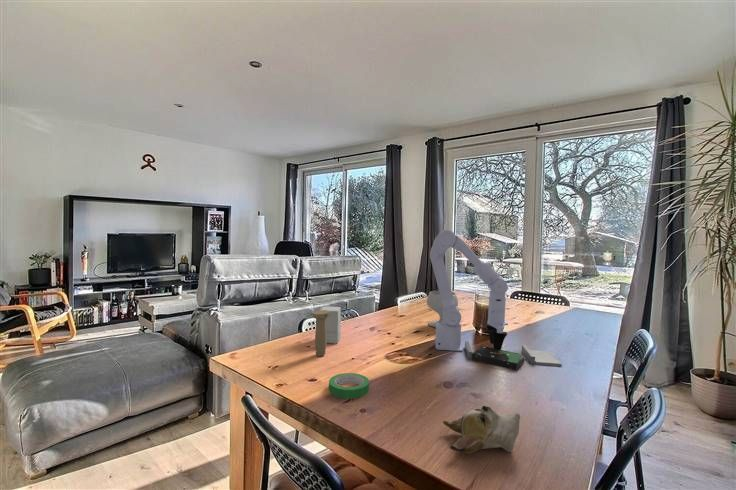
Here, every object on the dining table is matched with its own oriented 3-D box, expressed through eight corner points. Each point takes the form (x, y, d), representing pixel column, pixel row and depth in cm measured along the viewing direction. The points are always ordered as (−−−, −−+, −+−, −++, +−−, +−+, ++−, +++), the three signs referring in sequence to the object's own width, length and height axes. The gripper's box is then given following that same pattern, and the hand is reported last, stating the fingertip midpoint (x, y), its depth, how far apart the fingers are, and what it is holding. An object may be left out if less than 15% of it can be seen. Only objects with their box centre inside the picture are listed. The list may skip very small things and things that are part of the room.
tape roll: (347, 377, 106) (347, 369, 106) (377, 389, 99) (377, 379, 99) (320, 390, 98) (320, 381, 98) (350, 404, 91) (350, 393, 91)
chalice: (420, 326, 162) (421, 293, 162) (433, 319, 174) (434, 289, 173) (450, 331, 154) (451, 297, 154) (461, 324, 166) (462, 292, 165)
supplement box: (341, 338, 143) (341, 306, 142) (337, 344, 135) (338, 311, 135) (322, 337, 144) (323, 305, 143) (318, 343, 136) (318, 310, 136)
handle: (332, 354, 124) (332, 311, 124) (318, 359, 120) (318, 315, 119) (322, 351, 128) (323, 309, 127) (308, 355, 123) (309, 312, 122)
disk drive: (471, 361, 122) (517, 371, 113) (471, 353, 122) (518, 363, 113) (480, 352, 130) (524, 361, 122) (480, 345, 130) (524, 353, 122)
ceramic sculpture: (529, 420, 68) (449, 420, 69) (530, 464, 68) (450, 464, 69) (510, 394, 78) (441, 394, 80) (511, 433, 79) (442, 433, 80)
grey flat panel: (468, 359, 123) (468, 351, 122) (464, 347, 134) (465, 340, 134) (561, 366, 118) (561, 358, 118) (549, 353, 130) (549, 346, 130)
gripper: (513, 315, 123) (511, 354, 124) (503, 306, 137) (502, 341, 138) (491, 314, 124) (490, 353, 125) (484, 305, 138) (483, 340, 139)
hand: (495, 346), depth 131 cm, fingers open, 7 cm apart
